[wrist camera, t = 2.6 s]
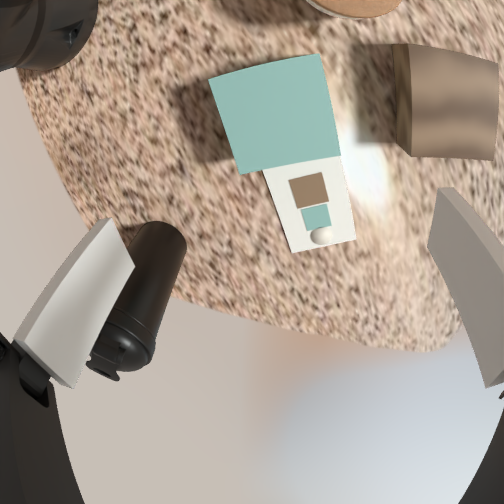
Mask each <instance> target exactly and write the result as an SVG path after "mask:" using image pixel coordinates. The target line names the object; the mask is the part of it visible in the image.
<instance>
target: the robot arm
mask: <svg viewBox="0 0 504 504" xmlns="http://www.w3.org/2000/svg"><path fill="white" fill-rule="evenodd" d="M97 12H98V0H0V72H1V71H4V70H7V69H10V68H13V67H17V68H24V69H30V70H35V71H45V70H49V69H53V68H57V67H60V66H62V65H64V64H66V63H67V62H69V61H70V60H71V59H72V58H74V57H75V56H76V55H77V54H78V53H79V51H80V50H81V49H82V48H83V46H84V45H85V43H86V42H87V40H88V38H89V36H90V34H91V32H92V30H93V27H94V24H95V21H96V17H97ZM427 248H428V249H429V251H430V253H431V255H432V257H433V259H434V261H435V263H436V264H437V266H438V268H439V270H440V272H441V274H442V276H443V278H444V280H445V282H446V285H447V287H448V289H449V291H450V293H451V295H452V297H453V300H454V302H455V304H456V306H457V309H458V311H459V313H460V316H461V318H462V321H463V323H464V326H465V328H466V331H467V333H468V336H469V339H470V341H471V344H472V347H473V349H474V352H475V355H476V358H477V361H478V364H479V368H480V371H481V374H482V377H483V381H484V384H485V387H486V388H489V387H492V386H495V385H498V384H500V383H503V382H504V246H503V245H502V244H501V242H500V241H499V240H498V238H497V237H496V236H495V234H494V233H493V232H492V231H491V229H490V228H489V227H488V226H487V224H486V223H485V222H484V221H483V220H482V218H481V217H480V216H479V215H478V214H477V212H476V211H475V210H474V209H473V208H472V207H471V206H470V205H469V203H468V202H467V201H466V200H465V199H464V198H463V197H462V196H461V195H460V194H459V193H458V192H457V190H456V189H455V188H438V190H437V197H436V203H435V209H434V215H433V220H432V225H431V230H430V235H429V240H428V244H427ZM134 267H135V265H134V263H133V261H132V259H131V257H130V255H129V253H128V251H127V249H126V247H125V245H124V243H123V241H122V239H121V237H120V235H119V232H118V230H117V228H116V226H115V224H114V222H113V219H112V217H111V218H106V219H100V220H98V221H97V223H96V224H95V225H94V226H93V227H92V228H91V229H90V231H89V232H88V233H87V234H86V235H85V237H84V238H83V239H82V241H80V243H79V244H78V245H77V246H76V248H75V249H74V250H73V251H72V253H71V254H70V255H69V256H68V258H67V259H66V260H65V262H64V263H63V264H62V266H61V267H60V268H59V269H58V271H57V272H56V274H55V275H54V277H53V278H52V279H51V280H50V282H49V283H48V285H47V286H46V287H45V289H44V290H43V292H42V293H41V295H40V296H39V297H38V299H37V301H36V302H35V303H34V305H33V306H32V308H31V310H30V311H29V313H28V314H27V316H26V317H25V319H24V321H23V322H22V324H21V325H20V327H19V329H18V330H17V332H16V334H15V336H14V337H13V339H14V340H13V342H12V343H11V344H10V343H9V342H8V340H7V339H6V338H5V337H4V336H3V335H2V334H1V333H0V504H85V503H84V501H83V498H82V496H81V493H80V490H79V487H78V485H77V482H76V479H75V476H74V473H73V470H72V467H71V463H70V460H69V456H68V453H67V449H66V445H65V442H64V438H63V434H62V429H61V424H60V419H59V414H58V410H57V404H56V398H55V391H54V387H53V384H52V383H51V382H50V381H49V379H50V377H51V376H52V377H53V378H54V379H55V380H56V381H57V382H58V383H59V384H61V385H63V386H66V387H69V388H72V389H74V387H75V385H76V383H77V380H78V378H79V376H80V374H81V371H82V369H83V367H84V365H85V362H86V360H87V358H88V356H89V354H90V352H91V349H92V347H93V345H94V343H95V341H96V339H97V337H98V335H99V333H100V331H101V329H102V327H103V325H104V323H105V321H106V319H107V317H108V315H109V313H110V311H111V309H112V307H113V305H114V303H115V302H116V300H117V298H118V296H119V294H120V292H121V291H122V289H123V287H124V285H125V283H126V281H127V280H128V278H129V276H130V274H131V273H132V271H133V269H134ZM503 397H504V391H503V392H502V393H501V395H500V397H499V398H500V399H502V398H503ZM458 504H504V409H503V412H502V416H501V418H500V421H499V423H498V426H497V428H496V431H495V434H494V436H493V438H492V441H491V443H490V445H489V447H488V450H487V452H486V454H485V456H484V458H483V461H482V462H481V464H480V466H479V468H478V470H477V472H476V474H475V476H474V478H473V480H472V482H471V483H470V485H469V487H468V489H467V490H466V492H465V494H464V496H463V497H462V499H461V500H460V502H459V503H458Z"/></svg>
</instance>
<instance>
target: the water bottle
mask: <svg viewBox="0 0 504 504" xmlns="http://www.w3.org/2000/svg"><path fill="white" fill-rule="evenodd" d="M126 249H127V251H128V253H129V255H130V257H131V259H132V261H133V263H134V265H135V267H134V269H133V271H132V273H131V274H130V276H129V278H128V280H127V281H126V283H125V285H124V287H123V289H122V291H121V292H120V294H119V296H118V298H117V300H116V302H115V303H114V305H113V307H112V309H111V311H110V313H109V315H108V317H107V319H106V321H105V323H104V325H103V327H102V329H101V331H100V333H99V335H98V337H97V339H96V341H95V343H94V345H93V347H92V349H91V352H90V354H89V355H90V356H91V360H90V361H87V362H86V366H87V367H88V368H89V369H91V370H93V371H95V372H97V373H99V374H101V375H103V376H105V377H107V378H109V379H111V380H114V381H119V380H120V378H119V376H118V375H117V373H116V371H124V372H130V371H136V370H139V369H141V368H142V367H143V366H145V365H147V364H149V363H150V361H151V360H152V357H153V354H154V351H155V344H156V342H155V339H156V336H157V333H158V330H159V327H160V324H161V321H162V318H163V315H164V312H165V309H166V306H167V303H168V300H169V298H170V295H171V292H172V289H173V286H174V283H175V281H176V278H177V275H178V273H179V270H180V267H181V264H182V262H183V259H184V256H185V254H186V250H187V245H186V241H185V239H184V237H183V235H182V234H181V233H180V232H179V231H178V230H177V229H176V228H175V227H173V226H172V225H170V224H168V223H165V222H160V221H153V222H149V223H147V224H145V225H144V226H143V227H142V228H141V229H140V230H139V232H138V233H137V235H136V236H135V237H134V239H133V240H132V241H131V243H130V244H129V246H128V247H127V248H126Z"/></svg>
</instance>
